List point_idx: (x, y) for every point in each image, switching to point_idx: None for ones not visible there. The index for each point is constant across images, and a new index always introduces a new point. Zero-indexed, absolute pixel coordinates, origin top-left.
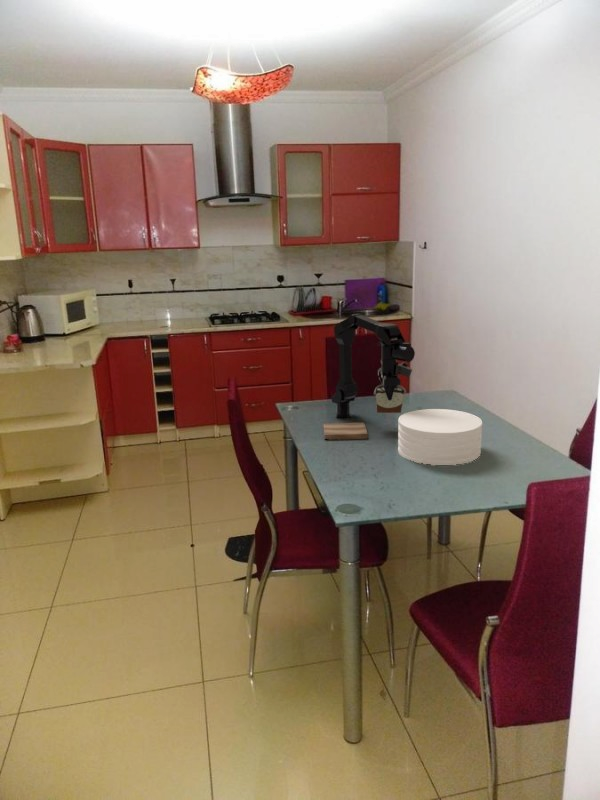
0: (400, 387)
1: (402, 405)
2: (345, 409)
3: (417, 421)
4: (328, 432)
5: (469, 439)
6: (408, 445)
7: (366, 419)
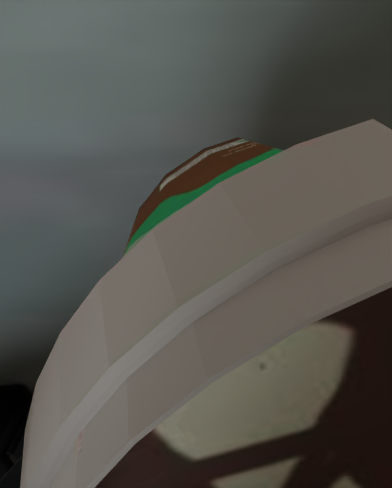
0: (136, 402)
1: (265, 145)
2: (22, 447)
3: None
4: None
5: None
6: None
7: (29, 321)
